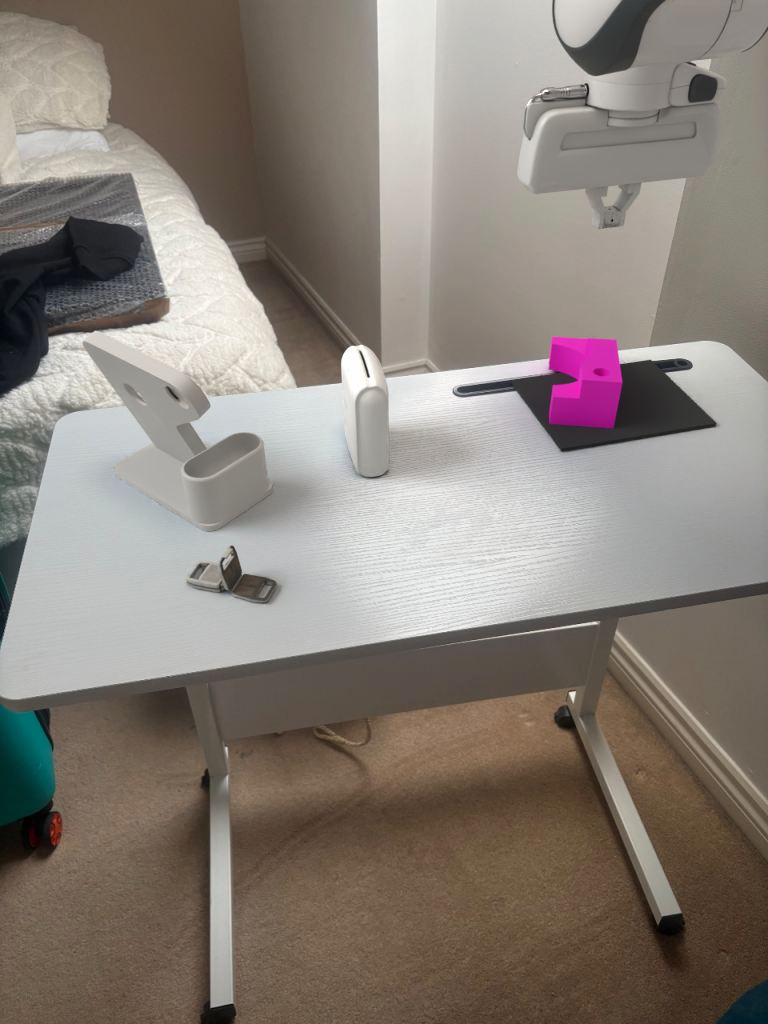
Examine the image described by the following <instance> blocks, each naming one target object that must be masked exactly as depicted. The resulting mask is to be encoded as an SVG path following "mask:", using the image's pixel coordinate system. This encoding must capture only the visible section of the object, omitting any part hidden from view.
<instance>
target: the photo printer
mask: <svg viewBox="0 0 768 1024" xmlns="http://www.w3.org/2000/svg"><path fill="white" fill-rule="evenodd" d="M340 371H341V391H342V394H341V395H342V410H343V411H342V412H343V427H344V435H345V439H346V444H347V448H348V451H349V455H350V458H351V462H352V464H353V467H354V470H355V472H356V473H357V475H361V476H362V477H366V478H373V477H374V478H375V477H379V476H382V475H384V474H385V473H386V472H388V471H389V470H390V469H389V468H390V429H389V428H390V421H389V420H390V419H389V418H390V417H389V412H390V411H389V405H390V403H389V402H390V401H389V399H390V398H389V397H390V396H389V395H390V394H389V387H388V383H387V378H386V374H385V372H384V369H383V367H382V364H381V361H380V359H379V358H378V357H377V355H376V354H375V352H374V351H373V349H371V348H369V347H368V346H366V345H363V344H360V345H359V344H358V345H351V346H349V347H348V348H347V349H345V351H344V352H343V354H342V357H341V361H340Z"/></svg>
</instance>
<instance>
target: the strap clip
mask: <svg viewBox="0 0 768 1024" xmlns="http://www.w3.org/2000/svg"><path fill="white" fill-rule="evenodd" d="M228 558H229V559H228ZM225 560H227V561H226V563H225V564H223V563H224V562H225ZM201 570H203V572H202V573H201V574H200V576H199V577H198V579H197V578H195V577H196V576H197V574H198V572H199V571H201ZM185 580H186V581H185V582H186V584H187V585H189V586H190V587H192V588H194V589H197V590H202V591H207V592H213V593H221V591H225V590H226V591H228V592H230V593H231V594H232V597H235V598H238V599H240V600H241V599H242V600H245V601H248V602H252V603H266V602H268V600H269V599H270V597H271V596H272V594H273V592H274V590H275V589H276V587H277V585H278V582H277V581H276V580H275V579H272V578H269V577H267V576H261V575H255V574H249V573H244V574H243V569H242V566H241V562H240V559H239V555H238V552H237V550H236V547H235V546H234V545H228V547H227V548H226V549H225V551H224V552H223V553H222V555H221V556H220V558H219V559H218V561H217V562H213V561H208V560H207V561H206V560H204V561H203V560H202V561H198V562H196V563H195V565H194V566H193V567H192V569H191V570H190V571H189V573H188V575H187V576H186V577H185ZM265 584H266V585H270V588H269V589H268V591H267V593H266V595H265V596H264V597H261V596H258V595H259V594H260V592H261V590H262V589H263V587H264V585H265Z"/></svg>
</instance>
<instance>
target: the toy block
mask: <svg viewBox="0 0 768 1024" xmlns="http://www.w3.org/2000/svg"><path fill="white" fill-rule="evenodd" d="M548 358H549V359H548V370H550V371H555V372H558V373H566V374H568V375H570V376H572V377H574V378H576V379H577V380H578V381H576V382H573V383H569V384H563V385H553V389H552V396H551V403H550V410H549V424H561V425H575V426H588V427H602V428H614V423H615V417H616V412H617V407H618V402H619V397H620V392H621V387H622V376H621V369H620V364H621V363H620V356H619V348H618V342H617V339H613V338H593V337H587V338H581V337H564V336H563V337H562V336H551V343H550V349H549V357H548Z"/></svg>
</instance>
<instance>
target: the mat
mask: <svg viewBox="0 0 768 1024" xmlns="http://www.w3.org/2000/svg"><path fill="white" fill-rule="evenodd" d="M620 369H621V376H622V387H621V392H620V397H619V402H618V407H617V412H616V417H615V423H614V428H602V427H588V426H575V425H561V424H549V410H550V403H551V396H552V389H553V385H563V384H569V383H573V382H576V381H578V380H577V379H576V378H574V377H572V376H570V375H568V374H566V373H562V372H557V373H556V372H555V373H549V374H543V375H535V376H528V377H521V378H517V379H516V378H515V379H510V384H511V385H512V387H513V388H514V390H515V391H516V393H517V394H518V395H519V396H520V398H521V399H522V400H523V402H524V403H525V405H526V406H527V407H528V408H529V410H530V411H531V412H532V414H533V415H534V417H535V418H536V419H537V421H538V422H539V423H540V425H541V426H542V428H543V429H544V430H545V432H547V434H548V436H549V437H550V438H551V440H552V441H553V442H554V444H555V446H557V448H558V449H559V451H560V452H562V453H563V452H568V451H569V452H570V451H575V450H582V449H587V448H593V447H599V446H605V445H612V444H617V443H623V442H629V441H637V440H641V439H647V438H653V437H659V436H660V437H661V436H665V435H671V434H677V433H685V432H691V431H695V430H702V429H709V428H713V427H716V426H717V422H716V421H715V420H714V418H712V417H711V416H710V415H709V414H708V413H707V412H706V411H705V410H704V409H703V408H702V407H701V406H700V405H698V403H697V402H695V400H694V399H692V398H691V397H690V396H689V395H688V394H687V393H686V392H685V391H684V390H683V389H682V388H681V387H680V386H679V385H678V384H677V383H676V382H675V381H674V380H673V379H672V378H671V377H670V376H668V374H666V373H665V371H663V370H662V369H661V368H660V367H659V366H658V365H657V364H656V363H655V362H654V361H653V360H652V359H645V360H639V361H632V362H624V363H620Z"/></svg>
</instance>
